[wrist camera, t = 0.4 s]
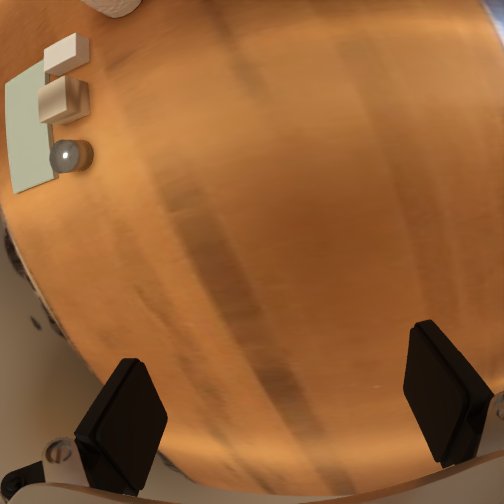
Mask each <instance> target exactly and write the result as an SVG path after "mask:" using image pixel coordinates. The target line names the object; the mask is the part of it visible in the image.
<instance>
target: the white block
mask: <svg viewBox="0 0 504 504" xmlns="http://www.w3.org/2000/svg"><path fill="white" fill-rule="evenodd" d="M87 62H90V53H89V39H87V38H85V37H83V36H81V35H80V34H78V33H74V34H72V35H70V36H68V37H66V38H64V39H62V40H60V41H59V42H57V43H55V44H53V45H51V46H50V47H48V48H46V49H45V50H44V72H46V73H49V74H52V75H56V76H60V75H62V74H64V73H66V72H68V71H70V70H73V69H75V68H77V67H79V66H81V65H83V64H85V63H87Z"/></svg>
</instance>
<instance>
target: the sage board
mask: <svg viewBox="0 0 504 504" xmlns="http://www.w3.org/2000/svg"><path fill="white" fill-rule="evenodd" d="M47 84H49V73H46V72H44V59H43V60H42V61H40V62H38V63H37V64H35V65H34V66H32V67H30V68H29V69H27V70H26V71H24V72H22V73H21V74H19V75H18V76H16V77H15V78H13V79H12V80H11V81H9V82H8V83H6V84H5V115H6V134H7V147H8V157H9V165H10V173H11V180H12V186H13V192H14V194H17V193H20V192H22V191H25V190H27V189H30V188H32V187H35V186H37V185H40V184H43V183H45V182H48V181H50V180H53V179H56V178H58V173H57V172H55V171H54V170H53V169H52V167H51V165H50V161H49V155H50V151H51V148H52V147H53V145H54V143H53V133H52V124H45V123H39V110H38V89H40V88H42V87H44V86H45V85H47Z"/></svg>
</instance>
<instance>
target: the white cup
mask: <svg viewBox="0 0 504 504" xmlns="http://www.w3.org/2000/svg"><path fill="white" fill-rule="evenodd" d="M80 1H82V2H83V3H85V4H87V5H88V6H90V7H92V8H94V9H95V10H97V11H99V12H101V13H103V14H104V15H106V16H108V17H112V18H117V17H123V16H125V15H127V14H129V13H131V12H132V11H133V10H134V9H135V8H136V7H138V6H139V4H140V3H141V1H142V0H80Z"/></svg>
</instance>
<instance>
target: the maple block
mask: <svg viewBox="0 0 504 504" xmlns="http://www.w3.org/2000/svg"><path fill="white" fill-rule="evenodd" d="M38 110H39V123H45V124H57V125H66V124H68V123H70V122H73V121H75V120H78V119H80V118H82V117H85V116H87V115H90V114H91V113H90V102H89V90H88V83H86V82H83V81H80V80H78V79H74V78H71V77H68V76H65V75H64V76H62V77H60V78H59V79H57V80H55V81H53V82H51V83H49V84H47V85H45V86H44V87H42V88H40V89H38Z"/></svg>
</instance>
